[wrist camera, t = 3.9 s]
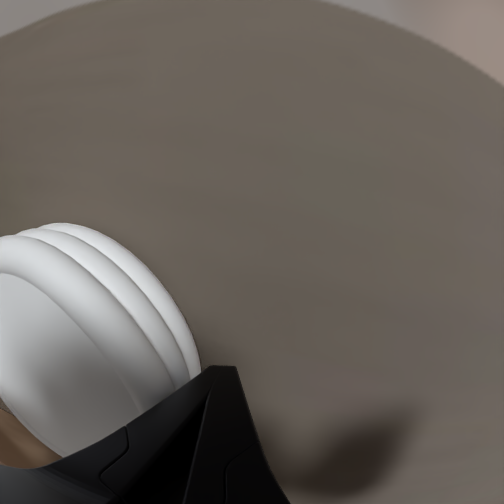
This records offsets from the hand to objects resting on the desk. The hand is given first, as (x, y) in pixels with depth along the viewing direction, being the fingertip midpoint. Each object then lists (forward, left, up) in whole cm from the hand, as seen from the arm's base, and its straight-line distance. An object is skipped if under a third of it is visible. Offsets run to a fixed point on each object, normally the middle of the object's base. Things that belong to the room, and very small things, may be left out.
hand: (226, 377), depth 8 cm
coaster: (0, +6, -2) cm, 6 cm away
